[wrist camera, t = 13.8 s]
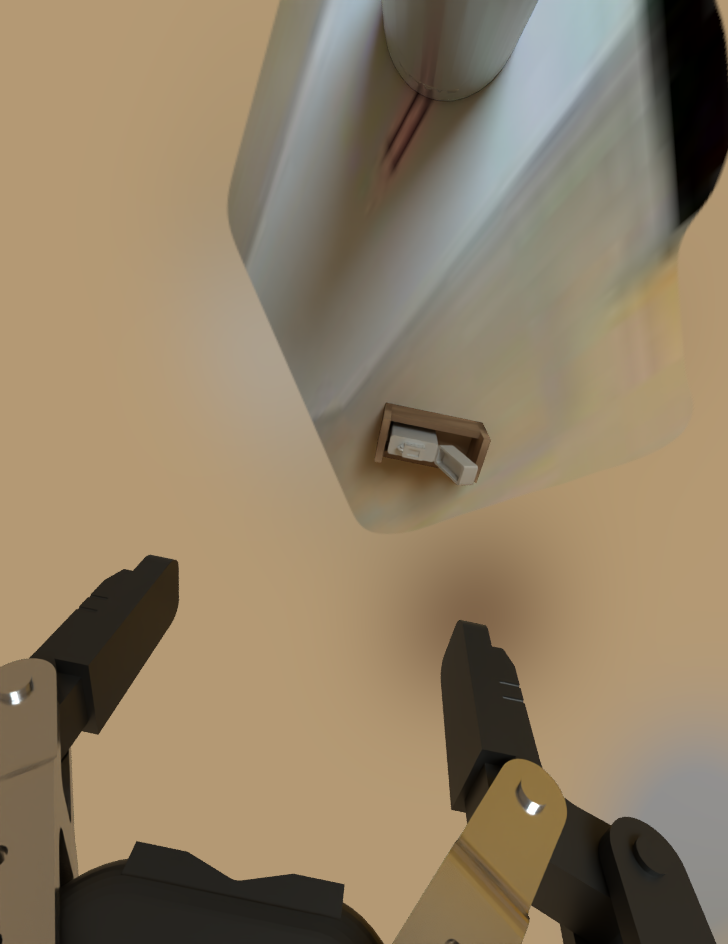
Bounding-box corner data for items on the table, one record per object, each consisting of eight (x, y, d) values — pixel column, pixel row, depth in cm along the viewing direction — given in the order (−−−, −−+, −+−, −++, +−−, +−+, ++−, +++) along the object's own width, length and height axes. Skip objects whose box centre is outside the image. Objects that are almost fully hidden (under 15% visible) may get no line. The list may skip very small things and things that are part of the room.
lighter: (389, 435, 41) (385, 471, 34) (392, 418, 41) (389, 451, 33) (461, 450, 41) (473, 489, 34) (466, 433, 41) (479, 470, 33)
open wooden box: (386, 402, 40) (383, 418, 36) (482, 422, 40) (490, 440, 36) (377, 442, 42) (374, 461, 38) (469, 461, 42) (476, 482, 38)
